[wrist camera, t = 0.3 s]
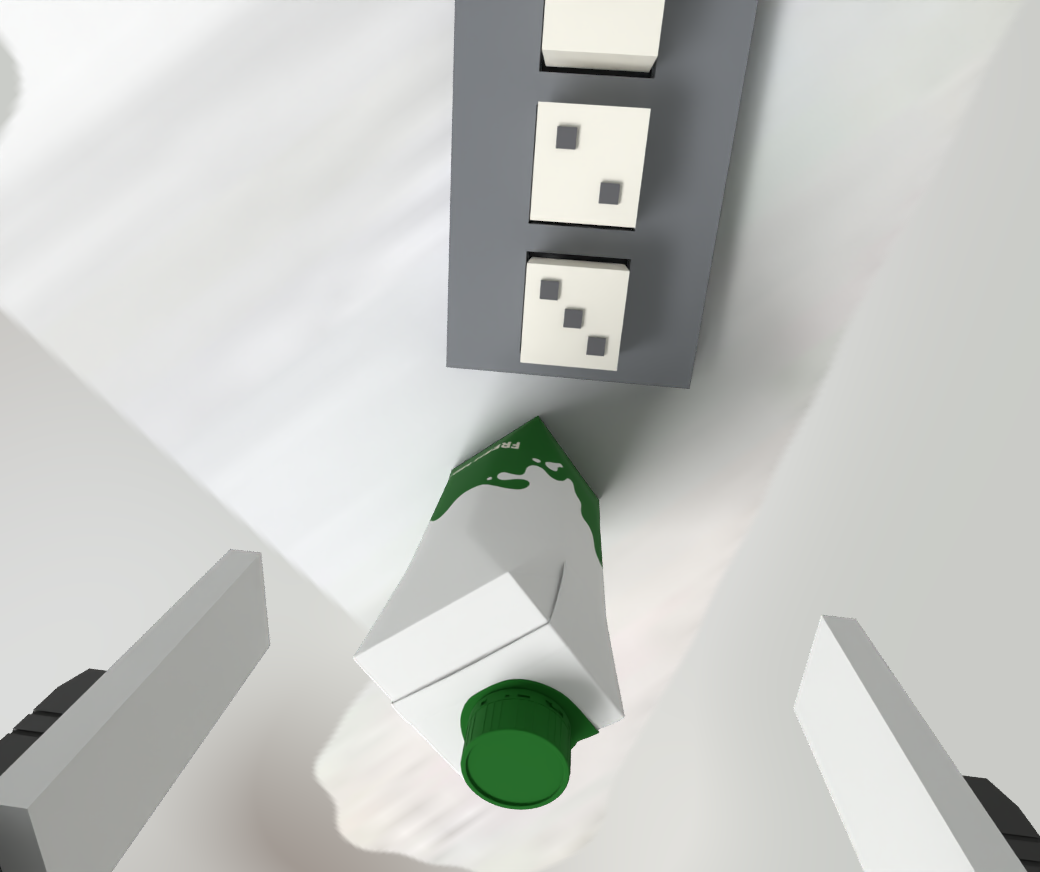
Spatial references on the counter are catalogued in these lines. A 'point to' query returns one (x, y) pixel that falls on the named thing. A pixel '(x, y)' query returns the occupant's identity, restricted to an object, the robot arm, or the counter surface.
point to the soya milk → (503, 623)
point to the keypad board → (648, 247)
